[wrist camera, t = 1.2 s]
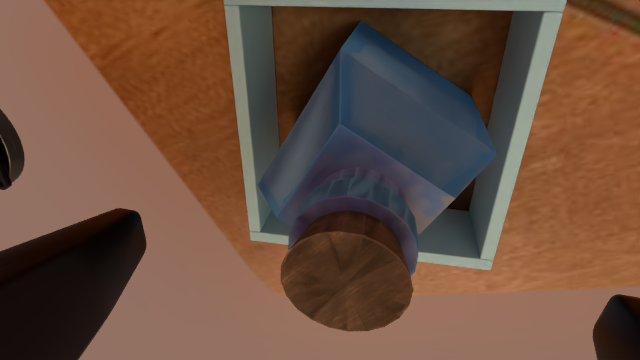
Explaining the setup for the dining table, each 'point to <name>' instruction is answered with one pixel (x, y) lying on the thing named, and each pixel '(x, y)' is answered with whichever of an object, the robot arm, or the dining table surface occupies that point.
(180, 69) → the dining table surface
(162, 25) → the dining table surface
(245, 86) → the square frame
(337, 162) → the perfume bottle
